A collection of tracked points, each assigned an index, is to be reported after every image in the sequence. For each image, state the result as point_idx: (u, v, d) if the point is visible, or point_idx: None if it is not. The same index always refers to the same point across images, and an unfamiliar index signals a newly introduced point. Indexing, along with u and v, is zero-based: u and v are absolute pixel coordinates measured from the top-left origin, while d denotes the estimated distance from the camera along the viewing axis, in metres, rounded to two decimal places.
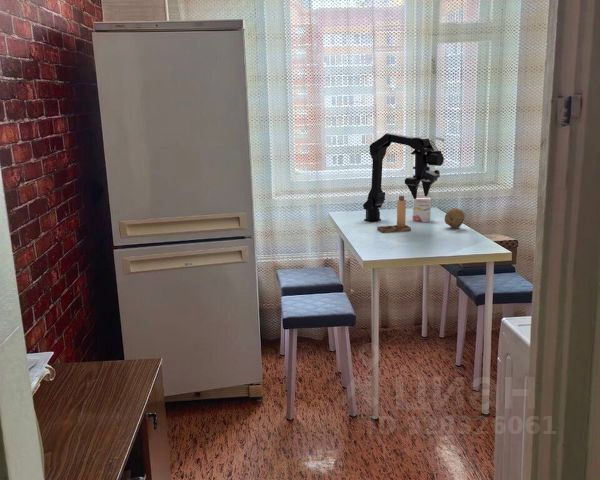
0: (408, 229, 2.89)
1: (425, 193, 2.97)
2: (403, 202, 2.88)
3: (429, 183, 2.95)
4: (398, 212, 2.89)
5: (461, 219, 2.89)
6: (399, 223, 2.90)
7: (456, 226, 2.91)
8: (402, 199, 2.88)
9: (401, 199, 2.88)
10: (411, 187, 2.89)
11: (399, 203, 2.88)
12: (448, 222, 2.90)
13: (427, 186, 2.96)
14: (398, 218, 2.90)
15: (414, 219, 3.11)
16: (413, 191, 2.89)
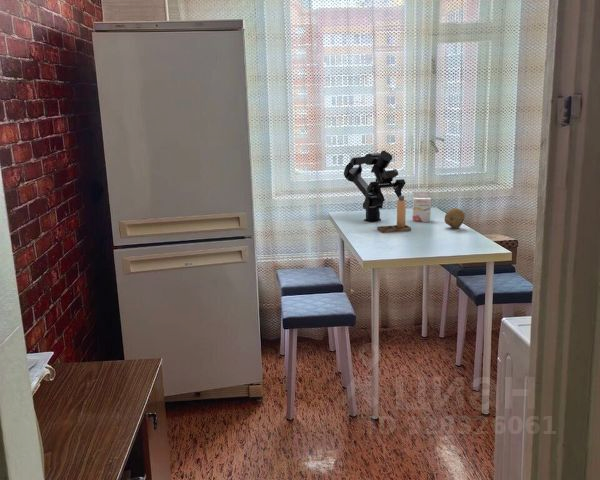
0: (408, 229, 2.89)
1: None
2: (403, 202, 2.88)
3: (398, 186, 3.00)
4: (398, 212, 2.89)
5: (461, 219, 2.89)
6: (399, 223, 2.90)
7: (456, 226, 2.91)
8: (402, 199, 2.88)
9: (401, 199, 2.88)
10: (376, 193, 2.98)
11: (399, 203, 2.88)
12: (448, 222, 2.90)
13: (398, 190, 3.00)
14: (398, 218, 2.90)
15: (414, 219, 3.11)
16: (379, 195, 2.96)
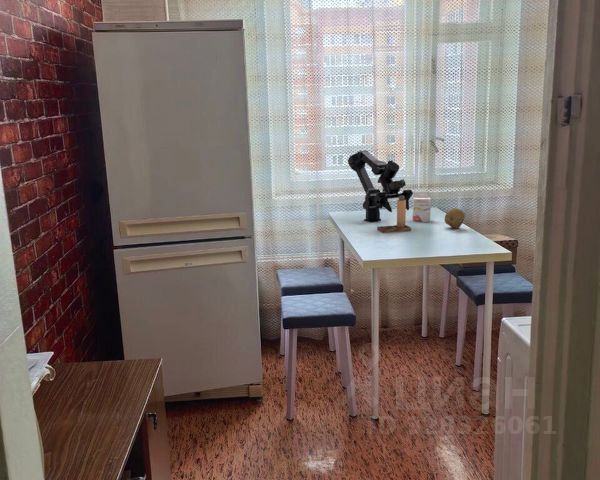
0: (408, 229, 2.89)
1: (406, 207, 2.94)
2: (403, 202, 2.88)
3: (405, 197, 2.95)
4: (398, 212, 2.89)
5: (461, 219, 2.89)
6: (399, 223, 2.90)
7: (456, 226, 2.91)
8: (402, 199, 2.88)
9: (401, 199, 2.88)
10: (383, 204, 2.93)
11: (399, 203, 2.88)
12: (448, 222, 2.90)
13: None
14: (398, 218, 2.90)
15: (414, 219, 3.11)
16: (386, 205, 2.91)
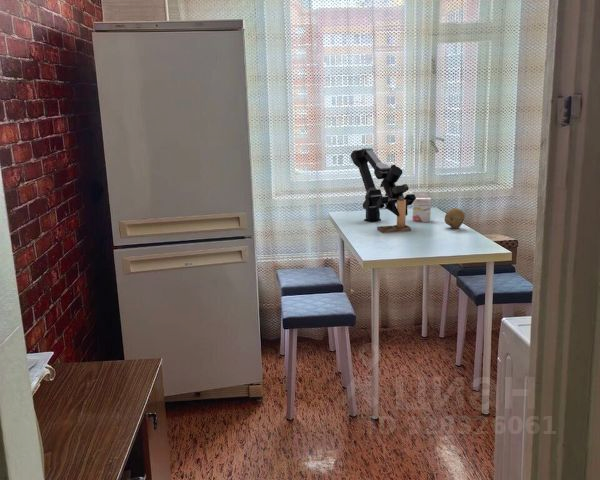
0: (408, 229, 2.89)
1: None
2: (403, 202, 2.88)
3: None
4: None
5: (461, 219, 2.89)
6: (399, 223, 2.90)
7: (456, 226, 2.91)
8: (402, 199, 2.88)
9: (401, 199, 2.88)
10: (390, 208, 2.92)
11: (399, 203, 2.88)
12: (448, 222, 2.90)
13: None
14: (398, 218, 2.90)
15: (414, 219, 3.11)
16: (393, 210, 2.90)
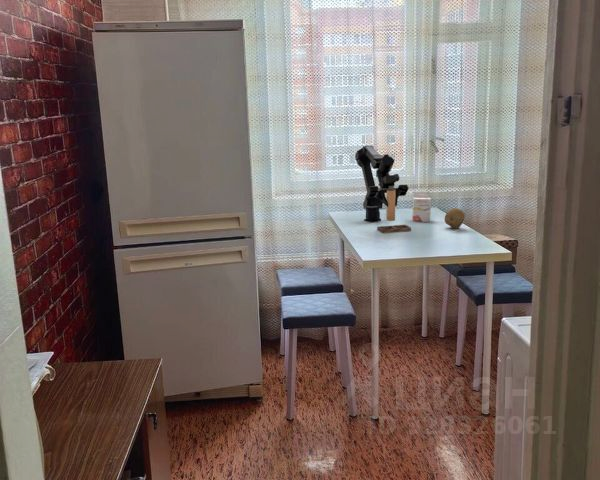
0: (408, 229, 2.89)
1: (395, 203, 2.88)
2: (392, 192, 2.85)
3: None
4: (387, 202, 2.87)
5: (461, 219, 2.89)
6: (388, 213, 2.88)
7: (456, 226, 2.91)
8: (391, 189, 2.85)
9: (390, 189, 2.85)
10: (381, 198, 2.90)
11: (388, 193, 2.86)
12: (448, 222, 2.90)
13: None
14: (387, 208, 2.88)
15: (414, 219, 3.11)
16: (383, 200, 2.88)
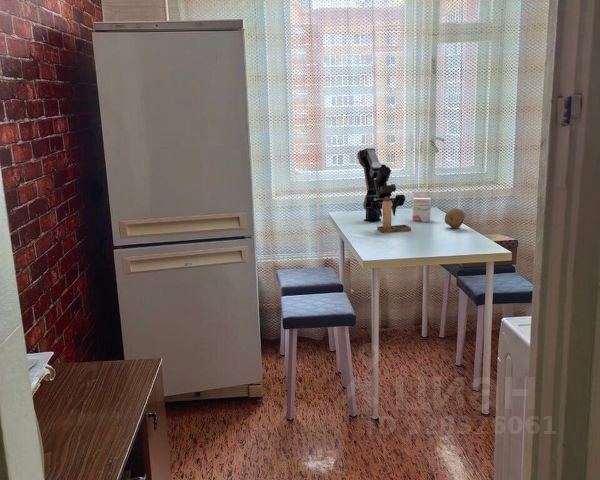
0: (408, 229, 2.89)
1: (393, 213, 2.89)
2: (388, 203, 2.86)
3: (393, 202, 2.90)
4: (383, 213, 2.88)
5: (461, 219, 2.89)
6: (384, 224, 2.89)
7: (456, 226, 2.91)
8: (387, 200, 2.87)
9: (386, 200, 2.87)
10: (375, 208, 2.91)
11: (384, 204, 2.87)
12: (448, 222, 2.90)
13: (393, 206, 2.90)
14: (383, 219, 2.89)
15: (414, 219, 3.11)
16: (377, 210, 2.89)
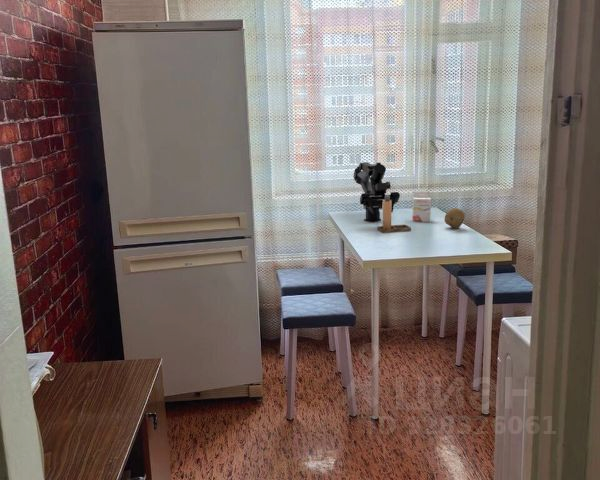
0: (408, 229, 2.89)
1: (391, 210, 2.98)
2: (388, 203, 2.86)
3: (391, 199, 2.99)
4: (383, 212, 2.88)
5: (461, 219, 2.89)
6: (384, 224, 2.89)
7: (456, 226, 2.91)
8: (387, 200, 2.87)
9: (386, 200, 2.87)
10: (368, 205, 2.99)
11: (384, 203, 2.87)
12: (448, 222, 2.90)
13: None
14: (383, 219, 2.89)
15: (414, 219, 3.11)
16: (369, 207, 2.98)
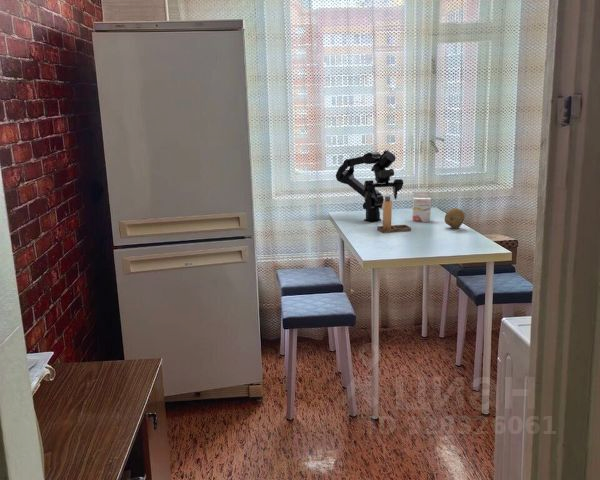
0: (408, 229, 2.89)
1: (394, 197, 2.99)
2: (388, 203, 2.86)
3: (394, 186, 3.00)
4: (383, 212, 2.88)
5: (461, 219, 2.89)
6: (384, 224, 2.89)
7: (456, 226, 2.91)
8: (387, 200, 2.87)
9: (386, 200, 2.87)
10: (371, 192, 3.00)
11: (384, 203, 2.87)
12: (448, 222, 2.90)
13: (394, 190, 3.00)
14: (383, 219, 2.89)
15: (414, 219, 3.11)
16: (373, 194, 2.98)
